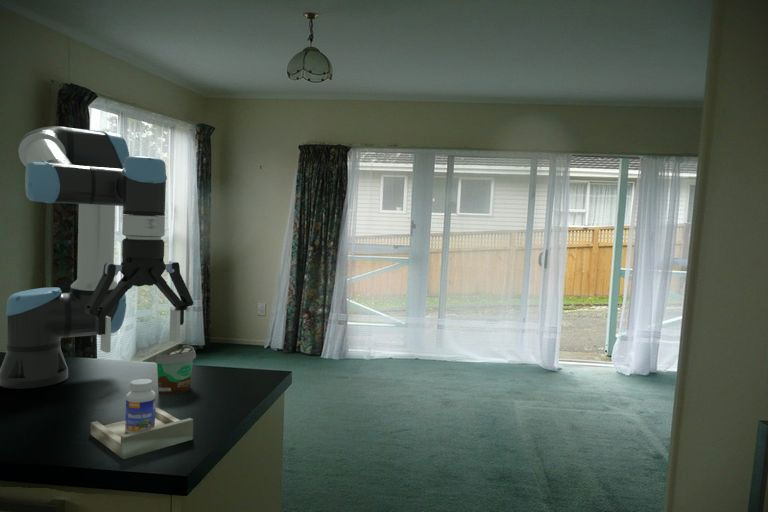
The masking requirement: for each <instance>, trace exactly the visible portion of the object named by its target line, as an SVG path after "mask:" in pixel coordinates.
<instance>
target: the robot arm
mask: <svg viewBox="0 0 768 512" xmlns="http://www.w3.org/2000/svg"><path fill="white" fill-rule="evenodd" d="M17 154H18V158H19V159H20V162H21V163H22V165H24V167H25V172H24V173H25V175H24V176H25V177H24V181H25V182H24V186H25V187H24V189H25V196H26V198H27V199H28V200H29V201H32V202H39V203H44V204H45V203H46V204H54V203H55V204H75V205H76V204H77V205H78V221H77V222H78V225H77V227H78V228H77V229H78V231H77V232H78V233H77V270H76V271H77V272H76V273H77V274H76V276H77V277H76V280H75V281H73V282H72V283H71V284H70V292H62V291H63V290H62V289H61V288H60V287H55V286H54V287H53V286H52V287H39V288H32V289H27V290H21V291H18V292H15V293H12V294H11V295H10V296H8V299H7V301H6V312H5V316H6V353H5V356H4V359H3V361H2V364H1V366H0V387H2V388H5V389H14V390H15V389H17V390H18V389H20V390H21V389H22V390H23V389H34V388H35V389H36V388H42V387H49V386H53V385H56V384H59V383H62V382H64V381H66V380H67V379H68V378H69V367H68V365H67V363H66V359H65V356H64V353H63V352H62V348H61V346H62V345H61V340H62V338H73V337H76V338H77V337H85V336H86V337H87V336H96V335H97V336H100V344H99V345H100V349H99V350H100V351H102V352H104V353H111V346H112V345H111V341H112V340H111V339H112V337H111V335H112V334H115V333H116V332H118V331H119V330H120V329H121V328H122V326H123V324H124V321H125V317H126V311H127V303H126V301H127V296H126V293H127V292H128V291H129V290H131V289H132V288H133V286H134V287H144V286H148V287H149V286H151V287H152V286H156V287H157V289H158V290H159V291H160V292H161V293H162V294H163V296H164V297H165V298H166V299H167V300H168V301H169V302H170V303H171V305H172V306H173V307H174V308H170V310H169V311H170V315H169V316H170V317H169V319H170V320H169V341H171V342H174V343H180V341H181V339H180V338H181V336H180V335H181V326H183V325H184V323H185V321H184V319H185V311H186V310H187V309H188V307H192V306H193V305H194V300H193V298H192V296H191V294H190V291H189V290H188V286H187V285H186V282H185V281H184V278H183V277H182V273H181V270H180V269H181V268H180V267H181V266H180V263H179V262H177V261H173V260H172V261H171V260H170V261H168V262H166V263H165V261H164V260H165V259H164V258H165V241H164V239H162V238H163V237H164V236H165V235H166V234H165V233H166V232H165V229H166V225H165V224H166V189H167V180H168V176H167V169H166V167H167V166H166V162H165V161H164V160H163V159H161V158H158V157H150V156H148V157H147V156H138V155H137V156H136V155H134V156H132V155H131V156H130V152H129V147H128V144H127V141H126V139H125V137H123V136H122V135H121V134H118V133H113V132H108V131H105V130H104V131H101V130H93V129H85V128H83V129H82V128H76V127H75V128H73V127H66V126H62V125H61V126H59V125H58V126H55V125H52V126H45V127H40V128H39V127H38V128H36V129H34V130H32V131H31V130H30V131H29V132H27V133H26V134H24V136H23V137H21V139H20V141H19V143H18V145H17ZM117 206H118V207H122V231H121V232H122V233H121V235H123V236H124V237H125V238H123V239H122V241H121V246H122V247H121V263H120V264H114V263H115V236H116V235H115V229H116V225H115V224H116V207H117ZM165 271H166V272H167V273H168V274H169V278H170V280H171V281H172V283H173V286H174V287H175V290H176V292H177V294H178V295H177V294H176V293H175V291H174V290H173V289H172V288H171V287H170V285H169V284H168V282H167V281H166V280H165V278H164V277H163V276H162V275H163V274H164V272H165ZM119 272H120V273H121V275H122V278H121V279H120V280H119V281H118V282H117V281H115V277H116V276H118V274H119Z"/></svg>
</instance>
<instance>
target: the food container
mask: <svg viewBox="0 0 768 512" xmlns="http://www.w3.org/2000/svg"><path fill="white" fill-rule="evenodd" d="M196 357H197V354H196V350H195V349H194V347H193V346H191V345H186V344H183V345H182V348H180V349H178V350H171V351H169V352H168V353H166V354H156V357H155V364H156V366H157V367H156V368H157V369H156V370H157V389H158V394H159V395H176V394H182V393H185V392H187V391H188V390H190V389H191V383H192V373H193V364H194V360H195V359H196Z"/></svg>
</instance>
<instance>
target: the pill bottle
mask: <svg viewBox="0 0 768 512" xmlns="http://www.w3.org/2000/svg"><path fill="white" fill-rule="evenodd" d="M129 383H130V386H129V389H130V391H129V392H128V393H127V394H126V395H125V415H124V416H125V418H124V419H125V420H124V421H125V431H126V432H127V433H133V432H137V431H141V430H145V429H149V428H153V427H155V408H156V398H157V395H156V392H155V391H154V390H152V388H153V379H149V378H139V379H134V380H131V381H130V382H129Z"/></svg>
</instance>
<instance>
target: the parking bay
mask: <svg viewBox="0 0 768 512" xmlns="http://www.w3.org/2000/svg"><path fill="white" fill-rule="evenodd" d="M90 435H91V436H92V437H93V438H95V439H96V440H97V441H98V442H100V443H101V444H102V445H104V446H105V447H107V448H108V449H109V450H110V451H112V452H113V453H114V454H116V455H117V456H118V457H120V458H121V459H122V460H126V459H129V458H133V457H137V456H140V455H144V454H148V453H150V452H154V451H158V450H161V449H165V448H167V447H171V446H174V445H177V444H181V443H185V442H188V441H189V442H190V441H192V440H193V439H194V419H193V418H192V417H189V418H185V419H180V418H176V416H175V417H174V416H173V415H171V414H170V413H168V412H166V411H165V410H162V409H161V408H159V407H155V427H153V428H149V429H145V430H141V431H137V432H133V433H127V432H126V431H125V420H122V421H121V420H120V421H117V422H113V423H109V424H105V425H103V424H102V423H101V422H99V420H96V421H92V422H90Z"/></svg>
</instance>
